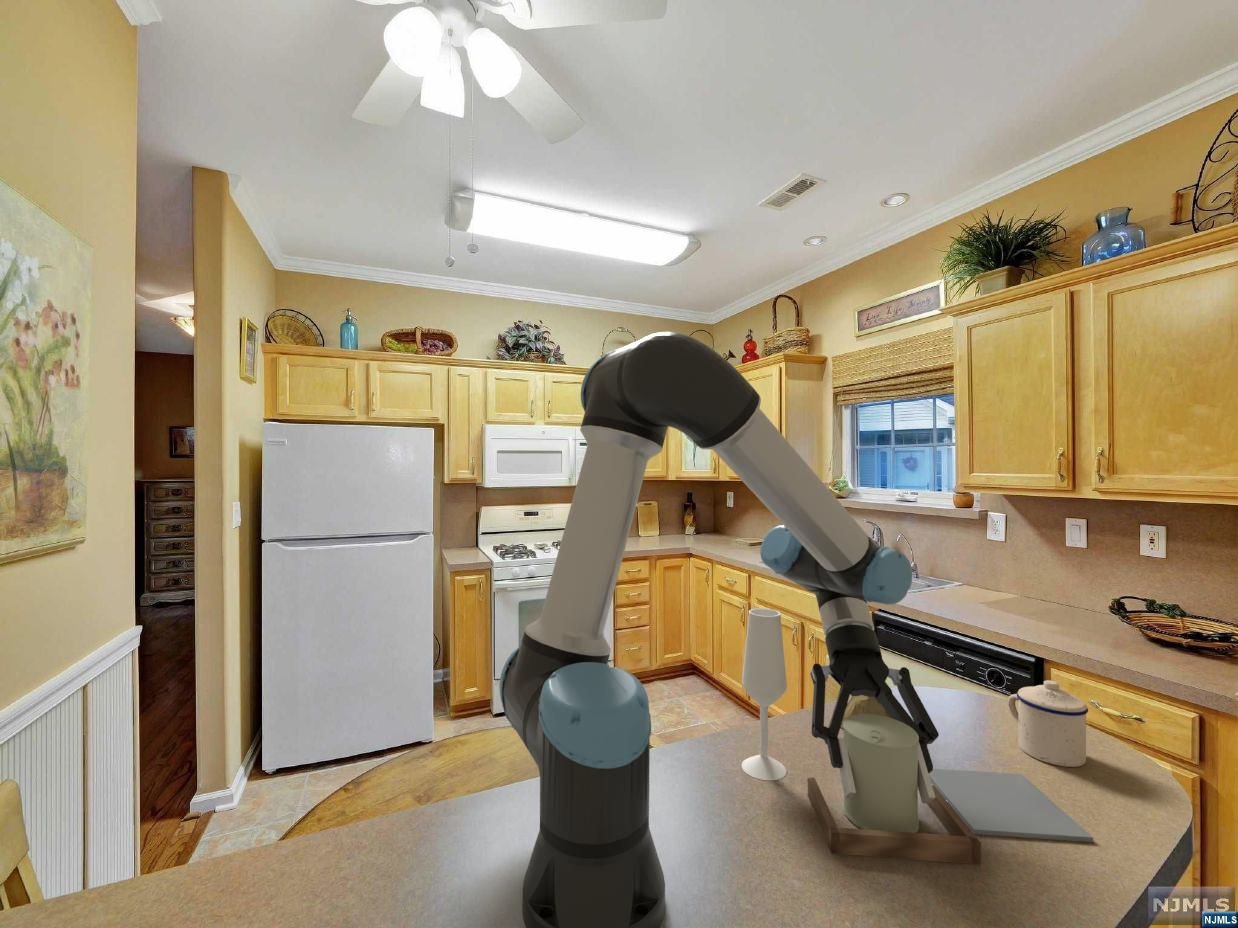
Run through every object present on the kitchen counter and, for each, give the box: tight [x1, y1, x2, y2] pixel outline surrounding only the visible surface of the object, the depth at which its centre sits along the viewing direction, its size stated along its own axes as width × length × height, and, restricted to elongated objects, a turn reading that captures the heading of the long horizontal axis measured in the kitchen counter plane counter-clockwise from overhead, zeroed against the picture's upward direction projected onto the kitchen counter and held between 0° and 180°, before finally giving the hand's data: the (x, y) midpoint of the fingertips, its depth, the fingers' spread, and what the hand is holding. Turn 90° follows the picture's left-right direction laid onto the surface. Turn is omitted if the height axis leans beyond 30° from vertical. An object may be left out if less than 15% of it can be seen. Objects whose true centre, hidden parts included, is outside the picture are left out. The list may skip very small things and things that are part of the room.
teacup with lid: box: [1007, 679, 1089, 768], centre depth 90 cm, size 12×9×12 cm
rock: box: [840, 695, 891, 730], centre depth 93 cm, size 11×9×10 cm
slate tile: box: [928, 768, 1094, 843], centre depth 75 cm, size 14×14×1 cm
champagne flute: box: [741, 607, 788, 782], centre depth 84 cm, size 7×7×24 cm
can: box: [841, 714, 920, 833], centre depth 72 cm, size 9×9×12 cm
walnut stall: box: [807, 777, 982, 865], centre depth 70 cm, size 17×12×2 cm
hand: (889, 797), depth 69 cm, fingers closed on can, 9 cm apart
